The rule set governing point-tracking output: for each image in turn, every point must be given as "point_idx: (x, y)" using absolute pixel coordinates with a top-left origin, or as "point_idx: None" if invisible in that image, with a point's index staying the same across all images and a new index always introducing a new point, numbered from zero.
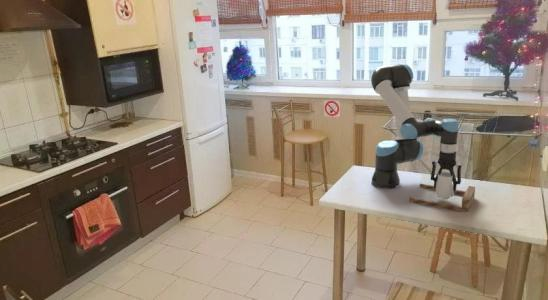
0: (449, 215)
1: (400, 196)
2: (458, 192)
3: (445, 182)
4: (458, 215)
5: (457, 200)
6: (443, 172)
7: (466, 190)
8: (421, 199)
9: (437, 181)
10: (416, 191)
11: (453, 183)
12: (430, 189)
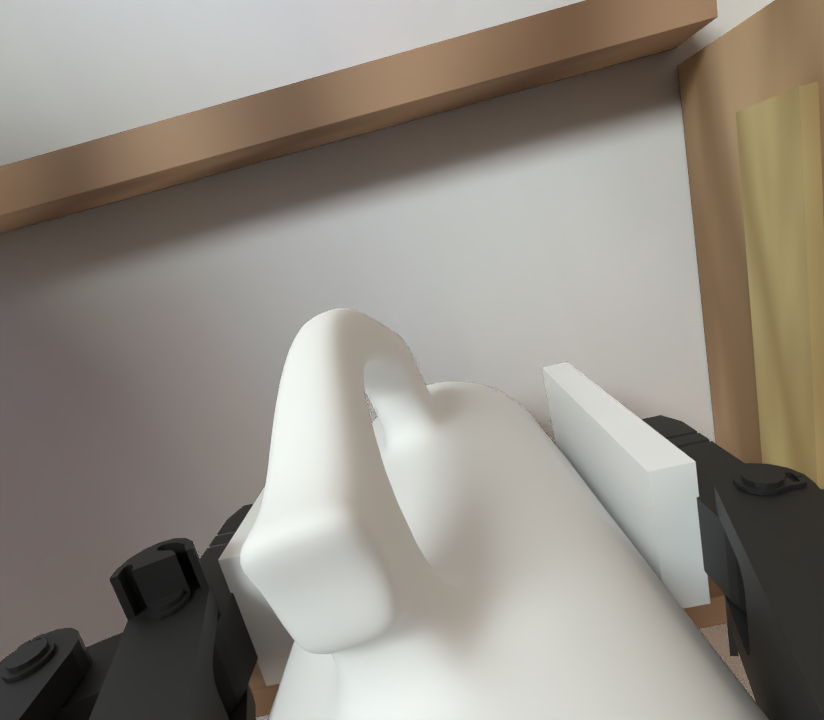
0: None
1: (2, 642)
2: (537, 72)
3: None
4: (733, 658)
5: (593, 304)
6: None
7: (806, 182)
8: (268, 693)
9: (257, 626)
10: (21, 396)
11: (742, 636)
12: (109, 200)
